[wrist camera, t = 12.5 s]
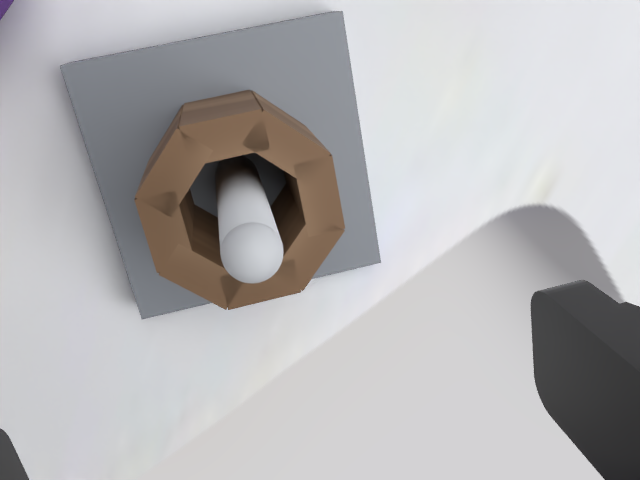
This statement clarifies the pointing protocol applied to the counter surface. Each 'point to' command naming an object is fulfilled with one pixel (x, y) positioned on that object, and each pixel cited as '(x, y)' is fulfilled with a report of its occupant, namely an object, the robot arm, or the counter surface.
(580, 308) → the robot arm
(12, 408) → the counter surface
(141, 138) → the rod stand
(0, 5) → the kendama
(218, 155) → the bead
